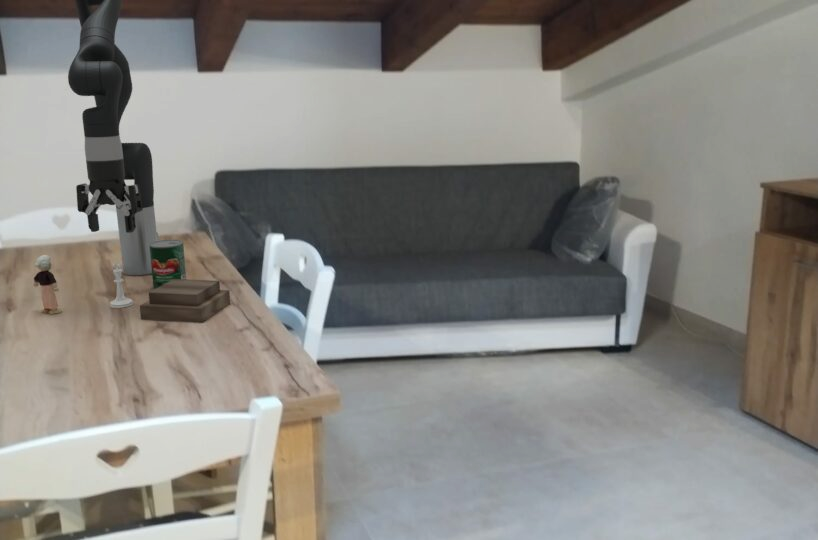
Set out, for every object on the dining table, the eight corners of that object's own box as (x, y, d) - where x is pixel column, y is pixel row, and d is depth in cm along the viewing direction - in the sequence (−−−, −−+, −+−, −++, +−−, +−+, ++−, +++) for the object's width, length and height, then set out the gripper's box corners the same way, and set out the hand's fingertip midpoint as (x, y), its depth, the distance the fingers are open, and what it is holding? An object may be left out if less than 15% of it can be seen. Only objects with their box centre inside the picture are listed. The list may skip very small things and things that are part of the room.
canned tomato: (155, 293, 187) (150, 248, 184) (151, 285, 194) (146, 241, 191) (189, 289, 190) (185, 244, 188) (184, 281, 197) (180, 238, 195)
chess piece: (125, 308, 176) (120, 264, 174) (105, 307, 177) (100, 264, 175) (137, 302, 181) (132, 259, 178) (117, 301, 182) (112, 258, 179)
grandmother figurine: (70, 310, 175) (63, 254, 172) (58, 315, 172) (50, 258, 169) (43, 307, 178) (35, 252, 175) (29, 312, 174) (21, 256, 171)
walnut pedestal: (173, 300, 182) (170, 276, 180) (230, 302, 179) (228, 279, 177) (140, 319, 168) (138, 294, 167) (202, 322, 166) (200, 297, 164)
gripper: (143, 155, 173) (151, 229, 177) (85, 155, 176) (93, 227, 180) (125, 159, 166) (132, 236, 170) (64, 159, 169) (73, 234, 173)
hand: (112, 231), depth 175 cm, fingers open, 8 cm apart
